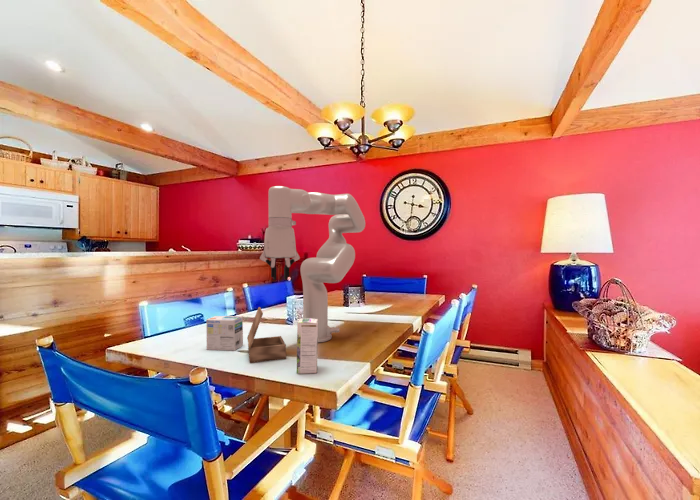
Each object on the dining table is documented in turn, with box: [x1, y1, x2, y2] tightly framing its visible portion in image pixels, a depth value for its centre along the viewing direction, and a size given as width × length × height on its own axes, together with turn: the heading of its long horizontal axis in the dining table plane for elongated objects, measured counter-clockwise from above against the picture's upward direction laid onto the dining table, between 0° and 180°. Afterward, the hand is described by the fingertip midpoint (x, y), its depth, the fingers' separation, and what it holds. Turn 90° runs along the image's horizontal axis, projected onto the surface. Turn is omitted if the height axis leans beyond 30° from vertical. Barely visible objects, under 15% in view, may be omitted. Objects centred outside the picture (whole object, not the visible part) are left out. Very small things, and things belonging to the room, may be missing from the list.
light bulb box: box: [206, 315, 244, 351], centre depth 115 cm, size 11×7×11 cm, turn 84°
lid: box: [246, 306, 264, 348], centre depth 105 cm, size 11×11×1 cm
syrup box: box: [296, 317, 319, 375], centre depth 94 cm, size 6×6×14 cm
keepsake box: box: [247, 335, 287, 364], centre depth 106 cm, size 11×11×4 cm
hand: (280, 278), depth 108 cm, fingers open, 3 cm apart
